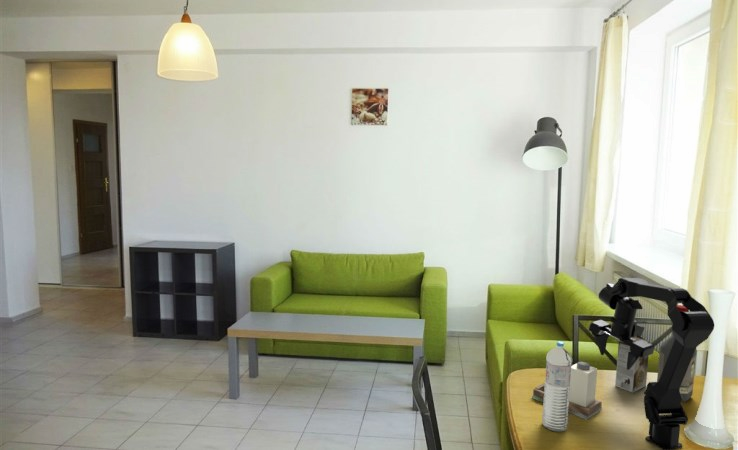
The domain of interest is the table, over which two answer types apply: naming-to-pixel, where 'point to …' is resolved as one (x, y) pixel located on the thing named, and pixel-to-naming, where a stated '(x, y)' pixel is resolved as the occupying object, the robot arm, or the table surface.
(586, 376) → the white juice carton
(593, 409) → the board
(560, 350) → the water bottle
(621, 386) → the coffee box
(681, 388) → the liquor
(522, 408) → the table surface
